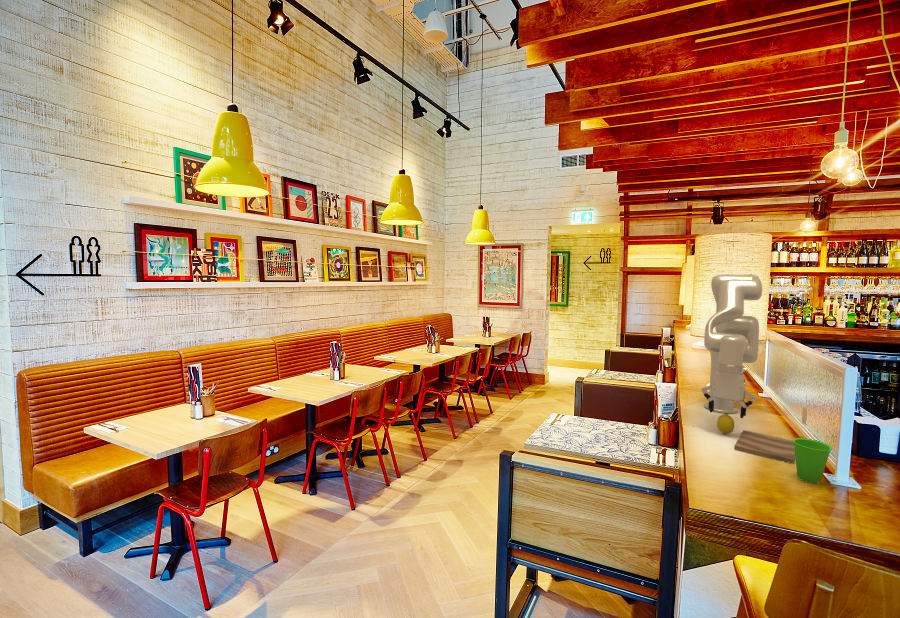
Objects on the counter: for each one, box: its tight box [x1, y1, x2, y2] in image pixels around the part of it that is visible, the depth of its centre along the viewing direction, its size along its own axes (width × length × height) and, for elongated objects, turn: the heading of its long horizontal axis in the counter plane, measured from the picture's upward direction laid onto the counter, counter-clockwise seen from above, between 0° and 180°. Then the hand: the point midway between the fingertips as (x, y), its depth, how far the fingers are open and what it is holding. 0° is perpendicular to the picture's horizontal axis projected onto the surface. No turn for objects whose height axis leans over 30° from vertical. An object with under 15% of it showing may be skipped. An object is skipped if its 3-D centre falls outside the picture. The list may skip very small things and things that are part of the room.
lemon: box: [716, 413, 735, 435], centre depth 161 cm, size 6×6×8 cm
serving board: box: [734, 429, 796, 465], centre depth 149 cm, size 20×16×2 cm
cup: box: [791, 437, 833, 484], centre depth 126 cm, size 9×9×11 cm
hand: (726, 414), depth 160 cm, fingers open, 9 cm apart
